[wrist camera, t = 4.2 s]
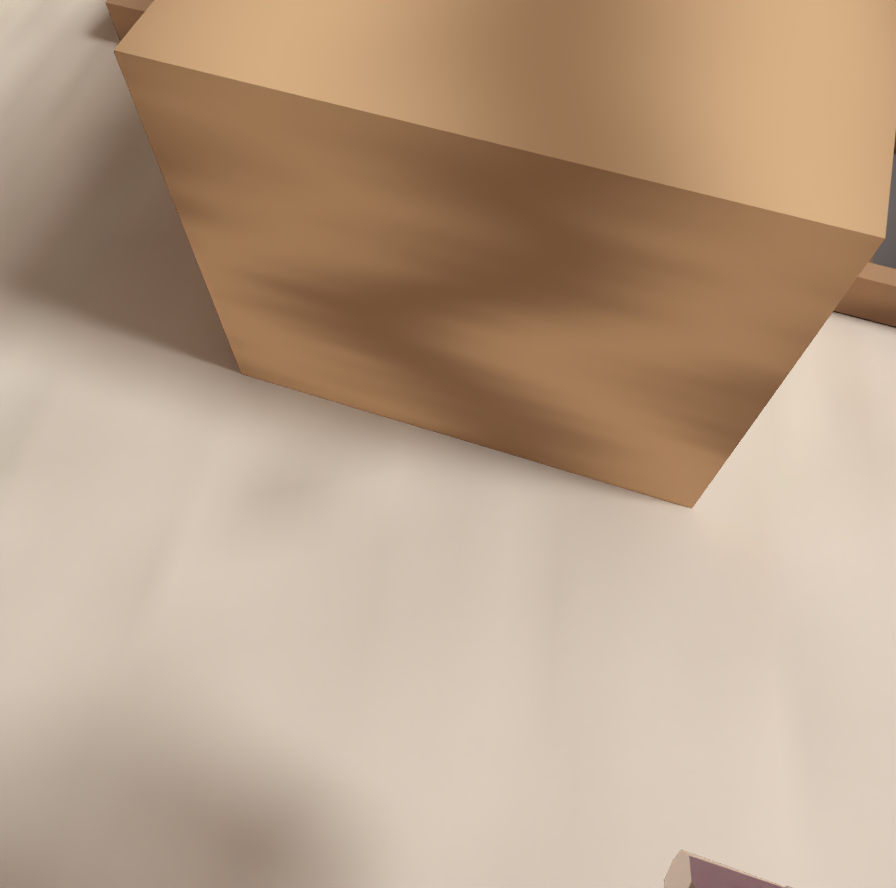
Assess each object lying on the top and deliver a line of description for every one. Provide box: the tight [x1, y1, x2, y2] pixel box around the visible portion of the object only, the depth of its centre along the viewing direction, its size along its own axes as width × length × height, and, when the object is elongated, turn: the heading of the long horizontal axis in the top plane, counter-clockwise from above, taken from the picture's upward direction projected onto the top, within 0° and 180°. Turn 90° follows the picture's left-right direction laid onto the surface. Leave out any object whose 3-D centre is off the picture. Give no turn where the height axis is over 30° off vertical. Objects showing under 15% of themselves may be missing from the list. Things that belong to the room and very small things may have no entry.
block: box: [114, 0, 896, 508], centre depth 16 cm, size 10×10×8 cm
